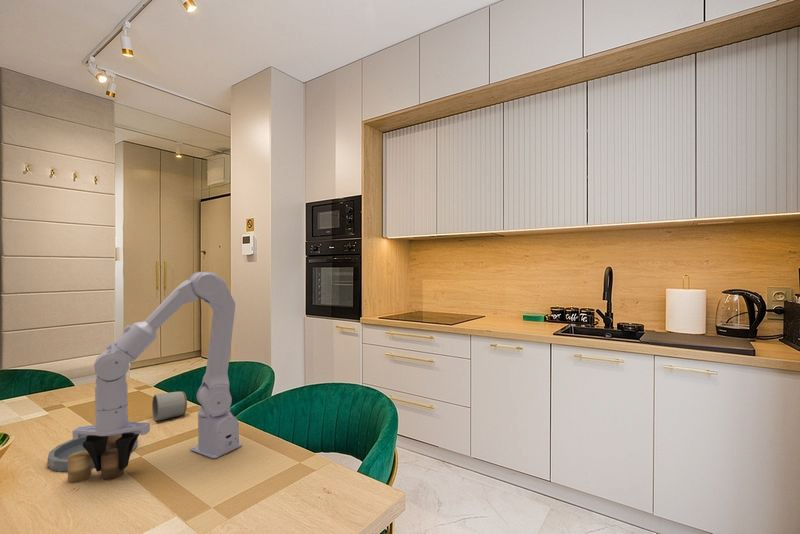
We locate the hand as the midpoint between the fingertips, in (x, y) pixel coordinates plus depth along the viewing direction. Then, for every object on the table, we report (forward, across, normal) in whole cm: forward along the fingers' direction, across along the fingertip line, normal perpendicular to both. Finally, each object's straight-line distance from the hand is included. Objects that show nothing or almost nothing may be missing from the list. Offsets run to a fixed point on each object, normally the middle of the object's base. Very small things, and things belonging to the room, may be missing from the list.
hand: (112, 468), depth 86 cm
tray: (+1, +10, -12) cm, 15 cm away
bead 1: (+2, +6, 0) cm, 7 cm away
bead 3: (+1, 0, 0) cm, 1 cm away
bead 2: (+1, +5, -11) cm, 12 cm away
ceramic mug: (+2, +4, -35) cm, 35 cm away
